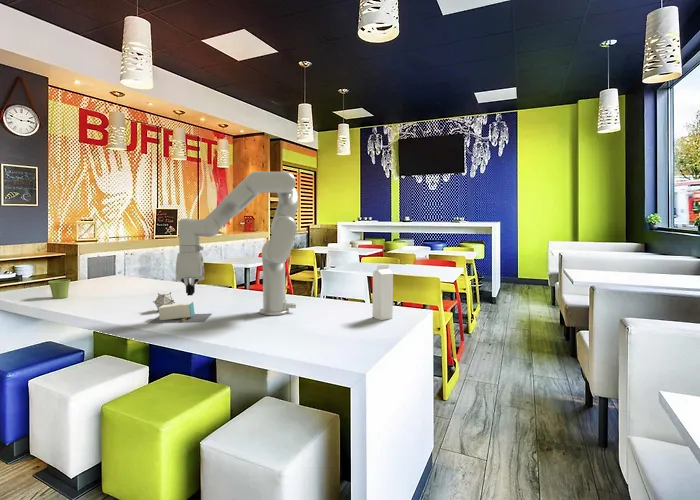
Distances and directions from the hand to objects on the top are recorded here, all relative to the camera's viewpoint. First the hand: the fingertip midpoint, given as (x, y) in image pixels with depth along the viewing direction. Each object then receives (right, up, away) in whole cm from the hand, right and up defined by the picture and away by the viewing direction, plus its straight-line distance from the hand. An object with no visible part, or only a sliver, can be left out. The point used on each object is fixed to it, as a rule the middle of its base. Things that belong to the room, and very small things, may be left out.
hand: (190, 294), depth 160 cm
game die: (-17, -9, +14) cm, 24 cm away
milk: (+78, -10, +4) cm, 79 cm away
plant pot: (-83, -6, +41) cm, 93 cm away
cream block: (+1, -6, +1) cm, 6 cm away
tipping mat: (-4, -10, 0) cm, 11 cm away
